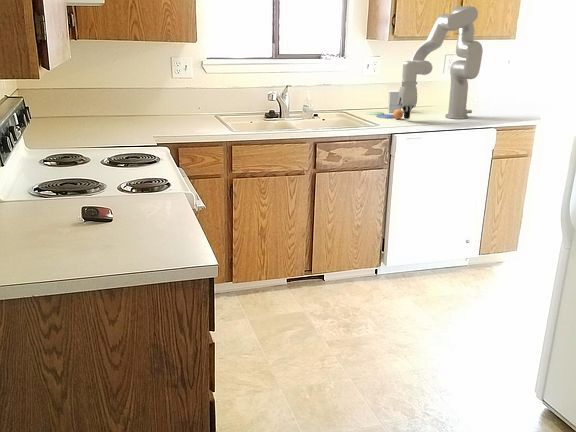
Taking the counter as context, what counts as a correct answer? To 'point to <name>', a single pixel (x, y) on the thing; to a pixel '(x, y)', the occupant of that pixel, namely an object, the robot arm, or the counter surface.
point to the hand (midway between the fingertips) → (406, 118)
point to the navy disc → (385, 116)
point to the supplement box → (393, 101)
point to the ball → (398, 114)
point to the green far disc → (375, 113)
